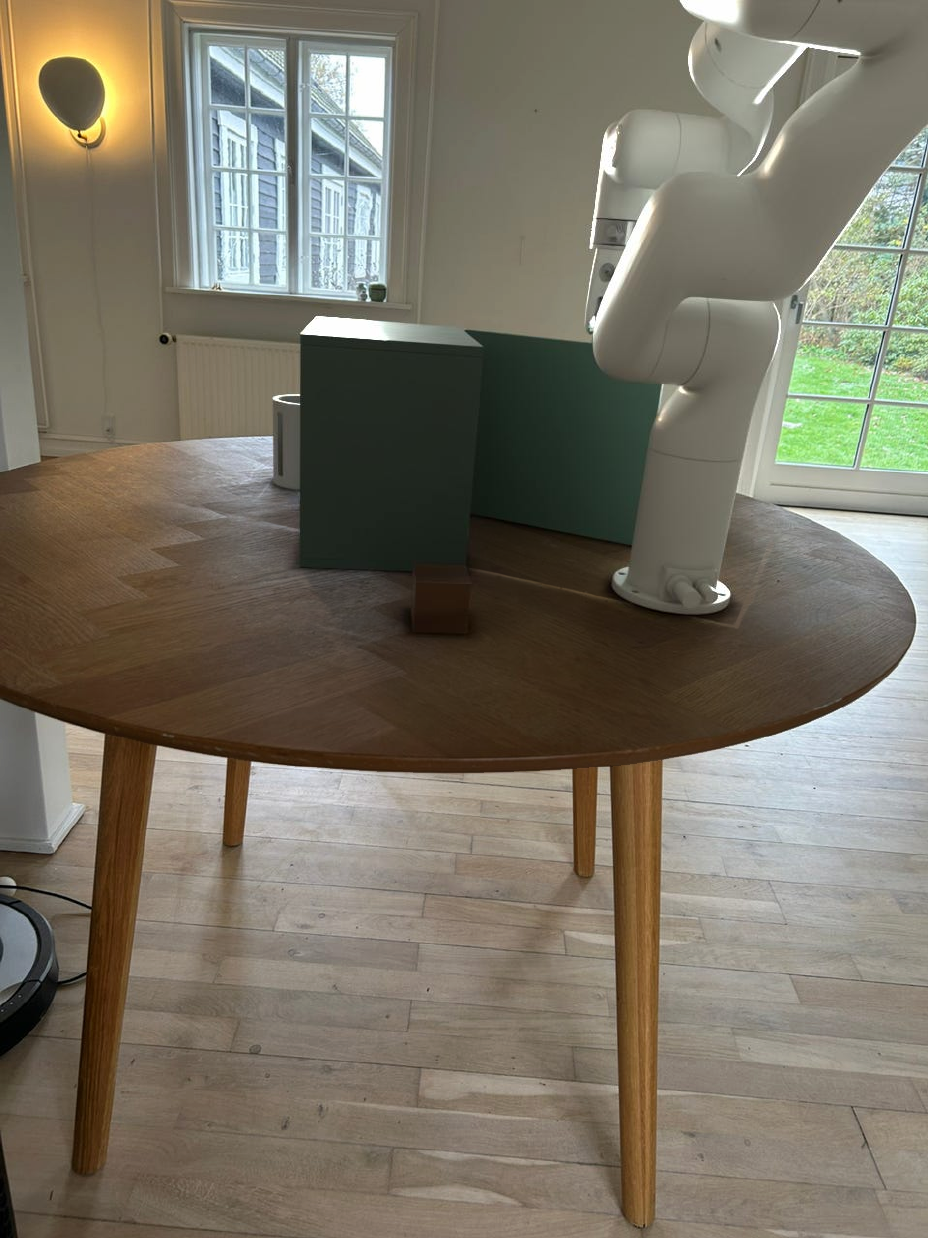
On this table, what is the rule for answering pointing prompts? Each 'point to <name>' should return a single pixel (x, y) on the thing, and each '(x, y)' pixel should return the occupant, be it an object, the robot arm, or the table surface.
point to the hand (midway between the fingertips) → (600, 391)
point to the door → (559, 438)
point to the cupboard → (386, 443)
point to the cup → (286, 441)
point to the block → (440, 598)
